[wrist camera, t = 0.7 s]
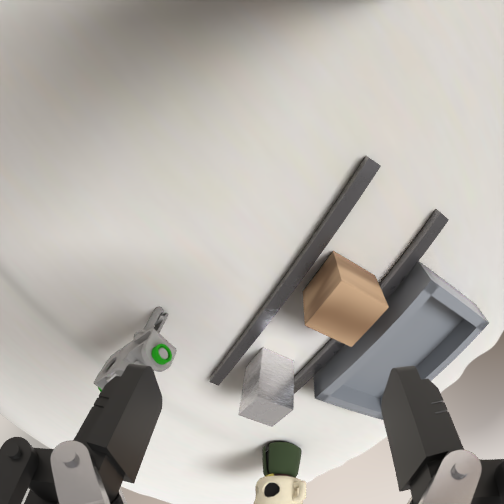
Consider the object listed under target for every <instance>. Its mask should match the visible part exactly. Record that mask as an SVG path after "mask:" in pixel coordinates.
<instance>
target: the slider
mask: <svg viewBox="0 0 504 504" xmlns="http://www.w3.org/2000/svg"><path fill="white" fill-rule="evenodd" d="M303 303H304V320H305V326H307V327H309V328H312V329H314V330H316V331H318V332H320V333H322V334H324V335H326V336H329V337H331V338H333V339H335V340H337V341H339V342H342V343H344V344H346V345H348V346H350V347H352V346H353V345H354V344H355V343H356V342H357V341H358V340H359V339H360V338H361V337H362V336H363V335H364V334H365V333H366V332H367V330H368V329H369V328H370V327H371V326H372V325H373V324H374V323H375V322H376V321H377V320H378V319H379V318H380V316H381V315H382V314H383V313H384V312H385V311H386V310H387V309H388V307H389V306H388V304H387V302H386V299H385V297H384V295H383V292H382V290H381V288H380V286H379V283H378V281H377V279H376V277H375V275H373V274H371V273H370V272H368V271H366V270H365V269H363V268H361V267H360V266H358V265H356V264H355V263H353V262H351V261H350V260H348V259H346V258H344V257H343V256H341V255H339V254H338V253H336V252H334V251H333V252H332V253H331V255H330V256H329V257H328V259H327V260H326V261H325V263H324V264H323V265H322V267H321V268H320V269H319V271H318V272H317V274H316V275H315V276H314V278H313V279H312V280H311V281H310V283H309V284H308V285H307V287H306V288H305V289H304V291H303Z"/></svg>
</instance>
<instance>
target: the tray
mask: <svg viewBox="0 0 504 504" xmlns="http://www.w3.org/2000/svg"><path fill="white" fill-rule="evenodd" d="M386 302H387V304H388V306H389V307H388V309H387V310H386V311H385V312H384V313H383V314H382V315H381V316H380V318H379V319H378V320H377V321H376V322H375V323H374V324H373V325H372V326H371V327H370V328H369V329H368V330H367V332H366V333H365V334H364V335H363V336H362V337H361V338H360V339H359V340H358V341H357V342H356V343H355V344H354V345H353V346H352V347H350V346H348V345H346V344H345V345H344V347H343V348H342V349H341V350H340V351H339V352H338V353H337V354H336V355H335V356H334V357H333V358H332V359H331V360H330V361H329V362H328V363H326V364H325V365H324V366H323V367H322V368H321V369H320V370H319V371H318V372H317V373H316V374H315V375H314V393H315V399H318V400H321V401H324V402H327V403H330V404H333V405H336V406H339V407H342V408H345V409H348V410H351V411H354V412H358V413H361V414H364V415H368V416H371V417H375V418H378V419H382V420H383V416H382V411H381V402H382V397H383V394H384V391H385V388H386V385H387V381H388V378H389V375H390V372H391V370H392V368H397V367H406V366H415V367H416V369H417V371H418V373H419V375H420V378H421V380H422V379H429V380H430V381H431V380H432V379H434V378H435V377H436V376H437V375H438V374H439V373H440V372H441V371H442V370H444V369H445V368H446V367H447V366H448V365H449V364H450V363H451V362H452V361H453V360H454V359H455V358H456V357H457V356H458V355H459V354H460V353H461V352H462V351H463V350H464V349H465V348H466V347H467V346H468V345H469V344H470V343H471V342H472V341H473V340H474V339H475V338H476V337H477V336H478V335H479V334H480V332H481V331H482V330H483V329H484V328H485V327H486V326H487V325H488V324H489V322H488V321H487V319H486V318H485V317H484V315H483V314H482V312H481V311H480V310H479V308H478V307H477V305H476V304H475V303H473V302H472V301H471V300H470V299H468V298H467V297H466V296H464V295H463V294H462V293H461V292H459V291H458V290H457V289H455V288H454V287H453V286H451V285H450V284H449V283H448V282H446V281H445V280H444V279H442V278H441V277H440V276H438V275H437V274H435V273H434V272H433V271H431V270H430V269H429V268H427V267H426V266H425V265H423V264H422V263H420V262H419V261H418V262H417V263H416V265H415V266H414V267H413V268H412V270H411V271H410V272H409V273H408V275H407V276H406V277H405V278H404V280H403V281H402V282H401V283H400V284H399V286H398V287H397V288H396V289H395V290H394V292H393V293H392V294H391V295H390V296H389V297H388V299H387V300H386Z"/></svg>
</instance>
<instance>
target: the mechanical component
mask: <svg viewBox="0 0 504 504" xmlns="http://www.w3.org/2000/svg"><path fill="white" fill-rule="evenodd" d="M163 312H164V311H163V309H162V308H161V307H157V308H156V309H155V310H154V312H153V314H152V315H151V317H150V319H149V321H148V322H147V324H146V326H145V328H144V329H143V331H138V332H136V333H135V335H134V339H133V341H132V342H130V343H129V344H127V345H126V346H124V347H123V348H121V349H120V350H118V351H117V352H116V353H114V354H113V355H112V356H111V357H110V358H109V359H108V360H107V362H106V363H105V365H104V366H103V368H102V370H101V371H100V373H99V374H98V376H97V378H96V379H95V381H94V384H95V385H96V386H98V389H99V390H100V391H102V389H103V388H104V386H105V385H106V384H107V383H108V382H109V381H110V380H111V379H113V378H114V377H115V376H120V377H121V376H122V374H123V372H124V370H125V369H126V367H127V365H129V364H138V365H146V366H151V367H152V369H153V371H154V370H155V371H158V372H161V371H164V370H166V369H168V368H169V367H170V366H171V364H172V361H173V359H174V356H175V354H176V348H175V347H174V346H172V345H171V344H170V343H169V342H168V341H167V340H166V339H165V338H163V337H162V336H161V335H160V334H159V332H160V330H161V328H162V326H163V324H164V322H165V320H166V318H167V316H168V314H165V315H164V316H162V315H161V316H159V315H160V314H162V313H163ZM154 325H155V326H154Z"/></svg>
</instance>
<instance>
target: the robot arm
mask: <svg viewBox="0 0 504 504" xmlns="http://www.w3.org/2000/svg"><path fill="white" fill-rule="evenodd" d="M161 409H162V395H161V392H160V389H159V386H158V383H157V381H156V378H155V375H154V372H153V369H152V367H151V366H146V365H138V364H129V365H127V367H126V369H125V370H124V372H123V374H122V376H121V377H120V376H115V377H114V378H113V379H111V380H110V381H109V382H108V383H107V384H106V385H105V386H104V388H103V389H102V391H101V393H100V395H99V398H97V400H96V401H95V403H94V407H92V408H91V410H90V412H89V414H88V415H87V417H86V419H85V421H84V423H83V424H82V426H81V428H80V430H79V432H78V433H77V435H76V437H75V438H74V440H73V441H65V442H62V443H60V444H59V445H58V446H56V447H55V449H40V448H33V447H32V446H31V445H30V444H29V443H28V441H27V440H25V439H24V438H21V437H13V438H11V439H9V440H7V441H6V442H5V443H4V444H3V445H2V447H1V449H0V504H21V502H22V500H23V498H24V495H25V493H26V491H27V489H28V488H29V489H30V491H29V494H28V496H27V498H26V501H25V503H24V504H127V503H126V501H125V498H124V496H123V493H122V491H121V489H120V486H121V484H122V481H127V482H130V483H134V482H135V479H136V476H137V474H138V471H139V468H140V465H141V463H142V460H143V457H144V455H145V452H146V449H147V446H148V444H149V441H150V438H151V436H152V433H153V431H154V428H155V425H156V423H157V420H158V417H159V415H160V412H161ZM381 411H382V416H383V420H384V424H385V428H386V432H387V436H388V440H389V444H390V449H391V453H392V457H393V462H394V467H395V471H396V476H397V481H398V486H399V491H404V490H408V489H411V494H412V497H411V498H410V500H409V502H408V503H407V504H504V459H497V460H480V459H478V457H477V456H476V455H475V454H474V453H472V452H470V451H467V450H464V448H463V446H462V444H461V441H460V439H459V437H458V434H457V431H456V429H455V426H454V424H453V422H452V419H451V417H450V414H449V412H447V407H446V405H445V403H443V398H442V396H441V394H440V392H439V389H438V388H437V387H436V386H435V385H434V384H433V383H432V382H431V381H430V380H429V379H422V380H421V378H420V375H419V373H418V371H417V369H416V367H415V366H406V367H397V368H392V370H391V372H390V375H389V378H388V381H387V385H386V388H385V391H384V394H383V397H382V402H381Z"/></svg>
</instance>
